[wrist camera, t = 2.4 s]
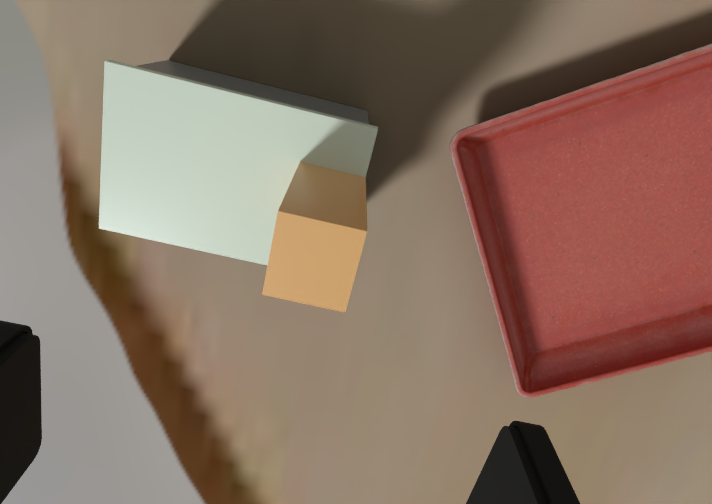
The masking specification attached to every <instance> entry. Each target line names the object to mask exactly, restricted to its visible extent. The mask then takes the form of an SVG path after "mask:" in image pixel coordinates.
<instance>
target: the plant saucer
mask: <svg viewBox="0 0 712 504" xmlns="http://www.w3.org/2000/svg"><path fill="white" fill-rule="evenodd" d="M450 152H451V156H452V160H453V163H454V166H455V170H456V173H457V177H458V181H459V184H460V188H461V191H462V195H463V198H464V201H465V205H466V209H467V212H468V216H469V220H470V223H471V227H472V230H473V234H474V237H475V241H476V244H477V248H478V251H479V255H480V259H481V263H482V266H483V270H484V273H485V277H486V280H487V283H488V287H489V291H490V294H491V297H492V302H493V305H494V308H495V312H496V315H497V319H498V323H499V327H500V330H501V334H502V337H503V341H504V345H505V348H506V352H507V356H508V359H509V363H510V366H511V370H512V374H513V377H514V381H515V386H516V389H517V391H518V393H519V394H520V395H522V396H524V397H528V398H530V397H537V396H540V395H544V394H548V393H551V392H555V391H559V390H563V389H568V388H572V387H576V386H579V385H583V384H586V383H591V382H595V381H599V380H602V379H606V378H610V377H614V376H618V375H622V374H625V373H631V372H635V371H639V370H642V369H645V368H649V367H653V366H657V365H661V364H664V363H668V362H673V361H676V360H680V359H684V358H687V357H693V356H696V355H699V354H702V353H707V352H711V351H712V43H711V44H709V45H706V46H703V47H700V48H697V49H694V50H691V51H688V52H685V53H682V54H680V55H677V56H673V57H671V58H668V59H665V60H663V61H660V62H657V63H654V64H651V65H648V66H645V67H642V68H639V69H636V70H633V71H630V72H627V73H625V74H622V75H619V76H616V77H613V78H610V79H606V80H603V81H601V82H598V83H595V84H592V85H589V86H586V87H583V88H580V89H578V90H575V91H572V92H569V93H566V94H563V95H560V96H558V97H555V98H552V99H550V100H547V101H543V102H540V103H537V104H534V105H532V106H529V107H526V108H523V109H520V110H517V111H514V112H511V113H508V114H505V115H502V116H499V117H496V118H493V119H490V120H487V121H484V122H482V123H479V124H476V125H473V126H470V127H467V128H465V129H462V130H460V131H458V132H457V133H456V134H455V135H454V136H453V137H452V140H451V142H450Z"/></svg>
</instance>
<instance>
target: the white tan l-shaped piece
mask: <svg viewBox="0 0 712 504" xmlns="http://www.w3.org/2000/svg"><path fill="white" fill-rule="evenodd" d="M377 132H378V126H374V125H370V124H366V123H362V122H358V121H354V120H350V119H346V118H342V117H338V116H333V115H329V114H325V113H321V112H317V111H313V110H309V109H305V108H301V107H297V106H293V105H289V104H285V103H281V102H277V101H273V100H269V99H265V98H261V97H257V96H253V95H249V94H245V93H241V92H237V91H233V90H229V89H225V88H221V87H217V86H213V85H209V84H205V83H201V82H197V81H193V80H189V79H185V78H181V77H177V76H173V75H169V74H165V73H161V72H157V71H153V70H149V69H145V68H141V67H137V66H133V65H129V64H125V63H121V62H117V61H113V60H108V61H105V65H104V94H103V122H102V151H101V180H100V209H99V229H104V230H109V231H113V232H118V233H122V234H127V235H131V236H136V237H140V238H145V239H150V240H154V241H159V242H163V243H168V244H172V245H177V246H181V247H186V248H191V249H195V250H200V251H204V252H209V253H213V254H218V255H222V256H227V257H231V258H236V259H241V260H245V261H250V262H254V263H259V264H263V265H268V266H267V271H266V276H265V282H264V287H263V292H262V295H266V296H271V297H276V298H280V299H285V300H290V301H294V302H299V303H304V304H308V305H313V306H318V307H322V308H327V309H332V310H336V311H341V312H346V308H347V304H348V301H349V297H350V293H351V290H352V286H353V282H354V279H355V275H356V271H357V268H358V264H359V260H360V257H361V253H362V249H363V246H364V242H365V238H366V235H367V204H366V174H367V170H368V166H369V163H370V159H371V155H372V151H373V147H374V143H375V139H376V135H377Z"/></svg>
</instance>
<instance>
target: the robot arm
mask: <svg viewBox="0 0 712 504" xmlns="http://www.w3.org/2000/svg"><path fill="white" fill-rule="evenodd" d="M40 372H41V369H40V339H39V337H38V336H36V335H33V334H32V330H31V328H30V327H29V326H26V325H21V324H15V323H10V322H5V321H0V504H1V503H2V502H3V500H4V499H5V498H6V496H7V495H8V494H9V492H10V491H11V490H12V488H13V487H14V486H15V484H16V483H17V481H18V480H19V479H20V477H21V476H22V475H23V473H24V472H25V471H26V469H27V468H28V467H29V465H30V464H31V463H32V461H33V460H34V458H35V457H36V455H37V453H38V451H39V448H40V445H41V439H42V430H41V375H40V374H41V373H40ZM466 504H580V503H579V500H578V498H577V496H576V494H575V492H574V490H573V488H572V485H571V483H570V481H569V479H568V477H567V475H566V473H565V471H564V468H563V466H562V464H561V462H560V460H559V458H558V456H557V454H556V451H555V449H554V447H553V445H552V443H551V441H550V439H549V436H548V434H547V432H546V430H545V429H544V427H542V426H540V425H535V424H530V423H525V422H520V421H513V422H512V423H511V424H510V426H509V427H508V426H504V427H503V428H502V429H501V431H500V433H499V435H498V437H497V439H496V441H495V443H494V445H493V447H492V450H491V452H490V454H489V456H488V458H487V460H486V462H485V464H484V467H483V469H482V471H481V473H480V475H479V477H478V479H477V482H476V484H475V486H474V488H473V490H472V492H471V494H470V496H469V499H468V501H467V503H466Z"/></svg>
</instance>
